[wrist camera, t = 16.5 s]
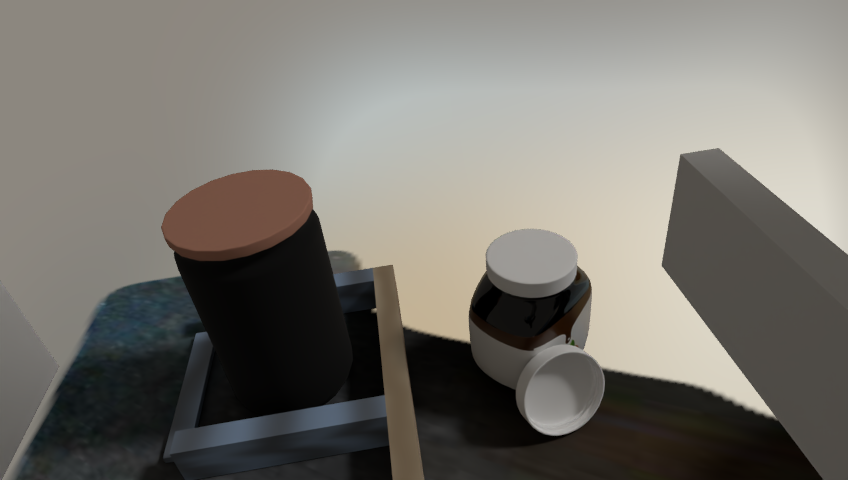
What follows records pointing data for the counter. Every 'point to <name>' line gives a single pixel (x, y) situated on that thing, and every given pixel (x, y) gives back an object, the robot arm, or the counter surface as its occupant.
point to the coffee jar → (263, 288)
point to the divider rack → (311, 427)
